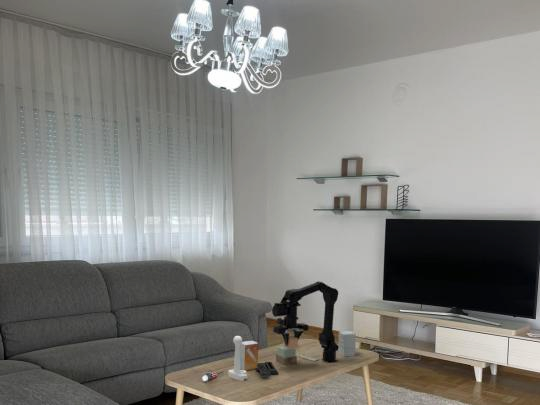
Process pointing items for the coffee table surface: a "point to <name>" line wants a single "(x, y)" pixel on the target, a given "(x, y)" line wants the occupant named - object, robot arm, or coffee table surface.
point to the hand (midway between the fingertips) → (290, 345)
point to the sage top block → (286, 352)
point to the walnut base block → (286, 360)
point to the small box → (248, 355)
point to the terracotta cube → (292, 342)
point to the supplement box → (346, 343)
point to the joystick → (237, 362)
